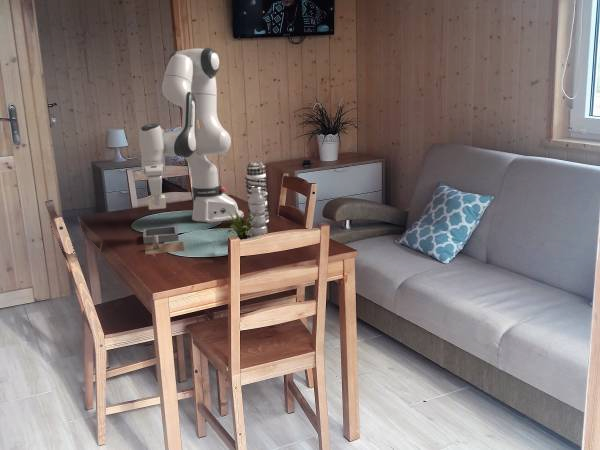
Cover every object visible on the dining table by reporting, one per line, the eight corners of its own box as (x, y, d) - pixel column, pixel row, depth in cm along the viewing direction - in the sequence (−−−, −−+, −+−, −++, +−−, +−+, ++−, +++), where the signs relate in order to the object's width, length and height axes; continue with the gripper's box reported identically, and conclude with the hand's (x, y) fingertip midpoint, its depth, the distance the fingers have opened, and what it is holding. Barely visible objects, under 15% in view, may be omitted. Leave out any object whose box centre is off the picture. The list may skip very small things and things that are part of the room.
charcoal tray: (177, 234, 269) (176, 225, 268) (178, 242, 257) (178, 234, 256) (144, 237, 266) (143, 229, 265) (144, 246, 254) (143, 237, 253)
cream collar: (165, 204, 262) (164, 194, 261) (166, 208, 255) (165, 197, 254) (148, 206, 260) (147, 196, 259) (148, 209, 254) (148, 199, 253)
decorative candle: (267, 224, 278) (263, 164, 271) (245, 224, 279) (241, 165, 273) (272, 219, 286) (268, 161, 280) (251, 218, 288) (247, 161, 282)
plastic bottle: (261, 241, 254) (258, 189, 249) (247, 239, 258) (243, 188, 253) (271, 236, 259) (268, 186, 254) (256, 234, 263) (253, 184, 258)
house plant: (211, 256, 237) (208, 212, 233) (235, 246, 249) (232, 203, 245) (244, 261, 230) (241, 215, 226) (267, 250, 241) (264, 206, 237)
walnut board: (183, 244, 255) (181, 229, 253) (184, 253, 243) (183, 237, 242) (145, 248, 252) (143, 232, 250) (145, 257, 240) (143, 241, 239)
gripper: (145, 164, 263) (148, 198, 267) (145, 172, 244) (148, 209, 247) (161, 163, 265) (164, 197, 268) (162, 171, 245) (166, 207, 249)
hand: (157, 203), depth 257 cm, fingers closed on cream collar, 6 cm apart
